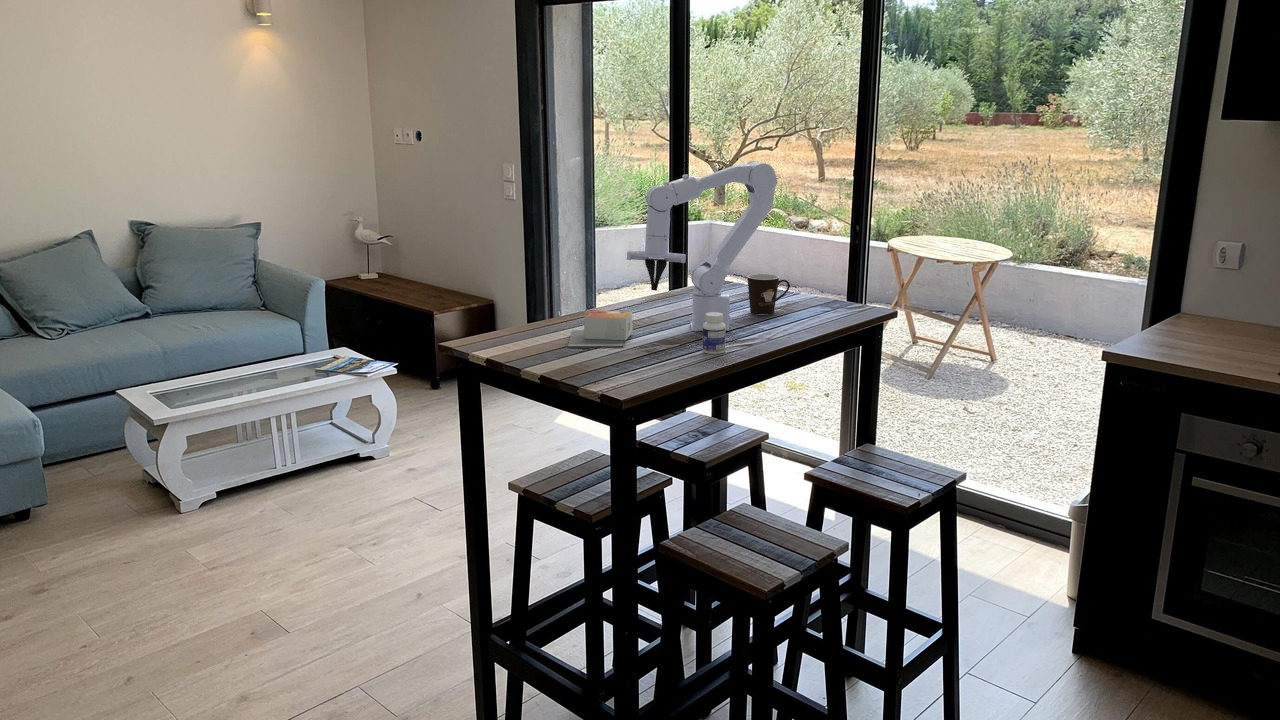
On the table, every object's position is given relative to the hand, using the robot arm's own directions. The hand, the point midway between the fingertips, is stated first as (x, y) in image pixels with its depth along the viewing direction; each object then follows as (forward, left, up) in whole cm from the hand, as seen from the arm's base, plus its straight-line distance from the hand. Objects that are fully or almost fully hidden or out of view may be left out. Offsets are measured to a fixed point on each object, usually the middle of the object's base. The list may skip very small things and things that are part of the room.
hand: (654, 289), depth 231 cm
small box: (+6, +8, -7) cm, 13 cm away
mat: (+14, +9, -10) cm, 20 cm away
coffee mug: (-31, -19, -11) cm, 38 cm away
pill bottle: (-13, +21, -11) cm, 27 cm away
